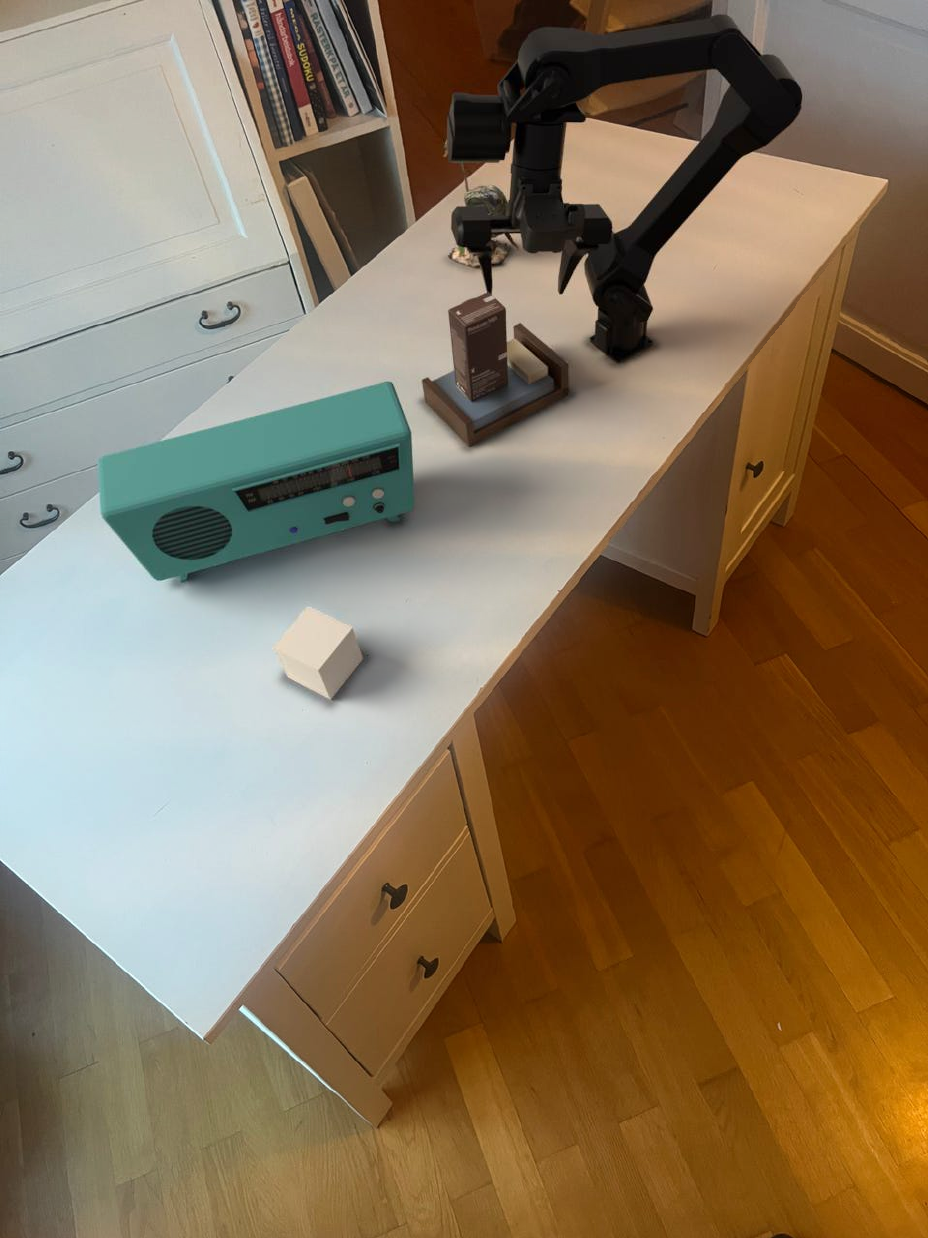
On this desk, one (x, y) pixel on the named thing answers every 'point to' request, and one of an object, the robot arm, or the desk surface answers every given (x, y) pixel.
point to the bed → (467, 424)
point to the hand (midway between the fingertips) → (524, 294)
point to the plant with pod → (494, 206)
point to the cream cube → (318, 652)
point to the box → (479, 345)
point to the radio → (260, 482)
